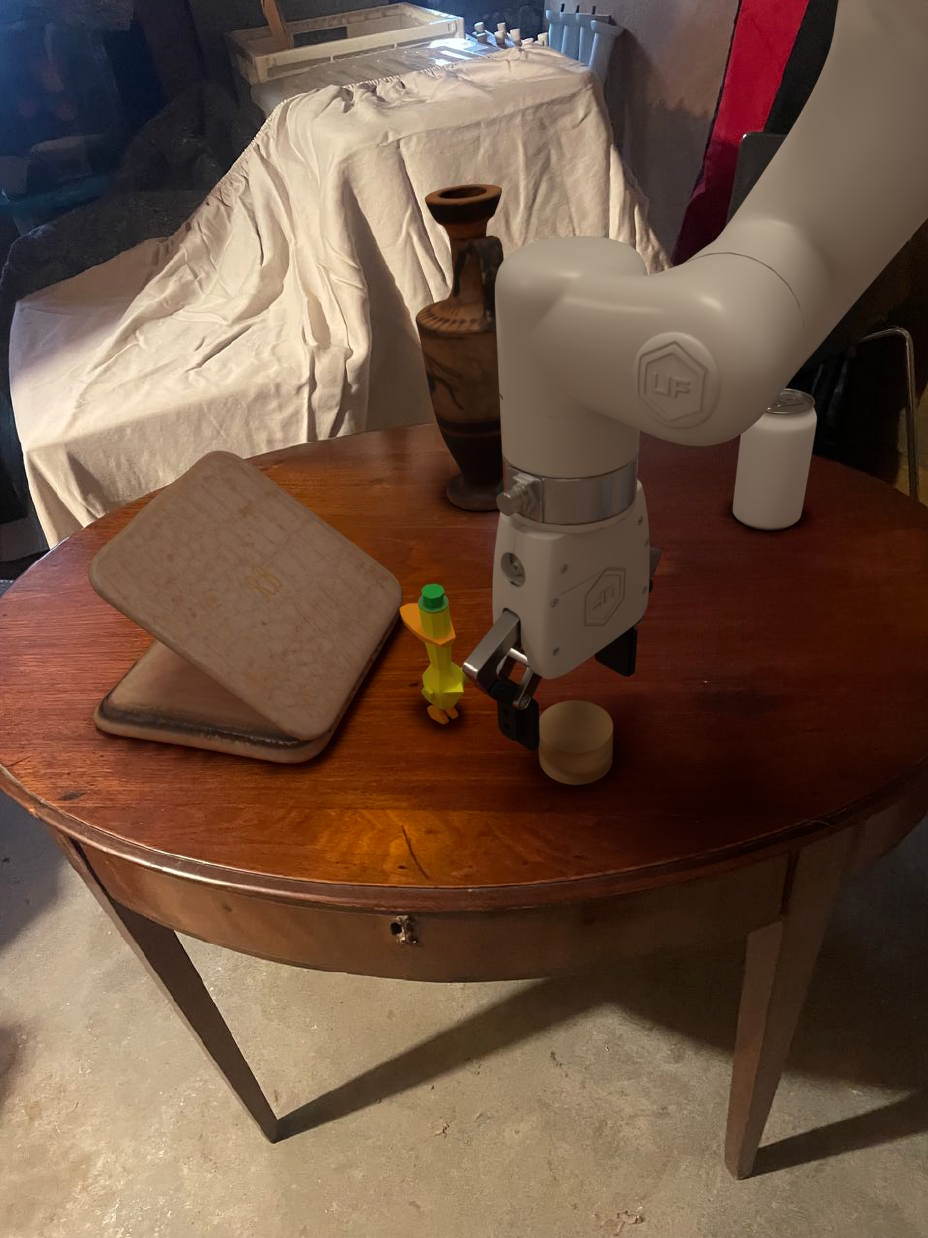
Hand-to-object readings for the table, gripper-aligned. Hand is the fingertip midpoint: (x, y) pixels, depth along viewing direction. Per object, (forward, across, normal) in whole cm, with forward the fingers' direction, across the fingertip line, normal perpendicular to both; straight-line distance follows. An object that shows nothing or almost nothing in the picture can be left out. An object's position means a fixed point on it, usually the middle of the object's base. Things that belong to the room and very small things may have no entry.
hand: (568, 701), depth 60 cm
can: (+5, +38, +7) cm, 39 cm away
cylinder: (+5, 0, -1) cm, 5 cm away
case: (+6, -10, +26) cm, 28 cm away
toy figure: (+6, -3, +10) cm, 12 cm away
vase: (+6, +24, +33) cm, 41 cm away
